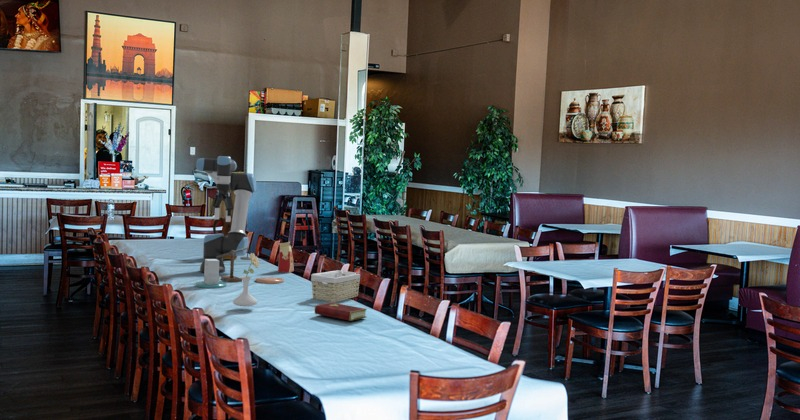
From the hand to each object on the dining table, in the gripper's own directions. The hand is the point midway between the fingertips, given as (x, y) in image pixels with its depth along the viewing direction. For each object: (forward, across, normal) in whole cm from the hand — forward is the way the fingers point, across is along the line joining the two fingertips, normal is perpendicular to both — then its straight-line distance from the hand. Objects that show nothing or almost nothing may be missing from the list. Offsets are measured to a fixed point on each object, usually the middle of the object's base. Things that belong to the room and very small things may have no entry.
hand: (222, 220), depth 410 cm
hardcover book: (+32, +113, +2) cm, 117 cm away
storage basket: (+36, +74, +28) cm, 87 cm away
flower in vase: (+32, +75, -25) cm, 85 cm away
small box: (+32, +18, -15) cm, 40 cm away
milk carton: (+35, -9, +48) cm, 60 cm away
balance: (+34, +5, +4) cm, 35 cm away
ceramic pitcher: (+37, -76, +40) cm, 93 cm away
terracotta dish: (+34, +17, +22) cm, 44 cm away
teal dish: (+33, +18, -15) cm, 41 cm away
